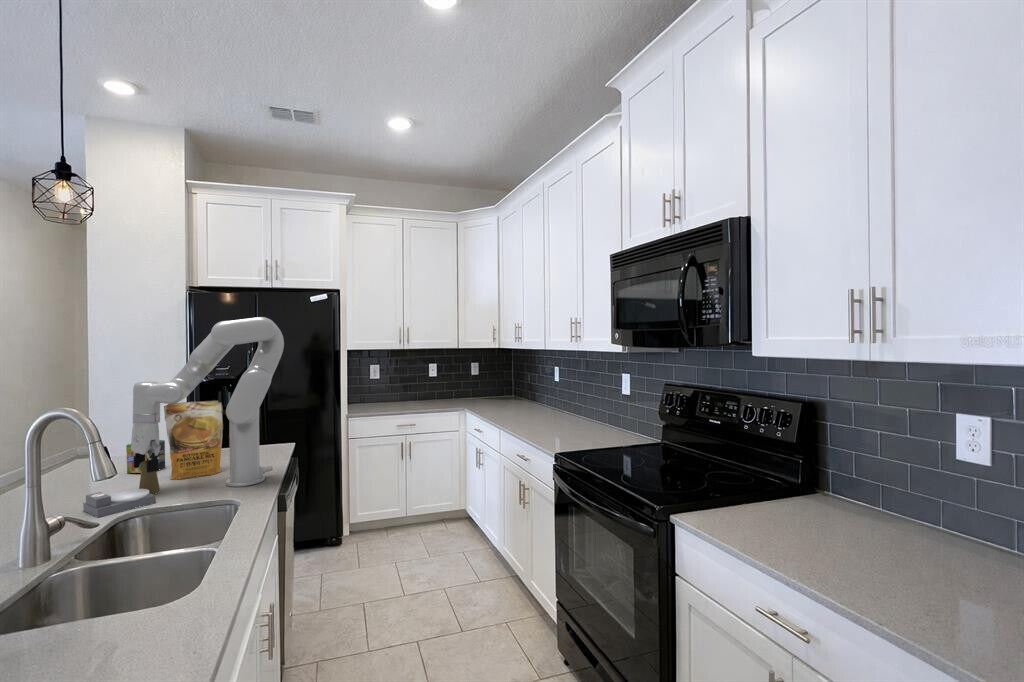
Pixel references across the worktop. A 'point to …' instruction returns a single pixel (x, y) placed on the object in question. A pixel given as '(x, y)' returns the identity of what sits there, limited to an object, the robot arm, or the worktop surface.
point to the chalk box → (131, 458)
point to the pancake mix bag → (194, 438)
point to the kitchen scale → (117, 501)
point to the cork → (148, 479)
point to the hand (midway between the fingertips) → (145, 469)
